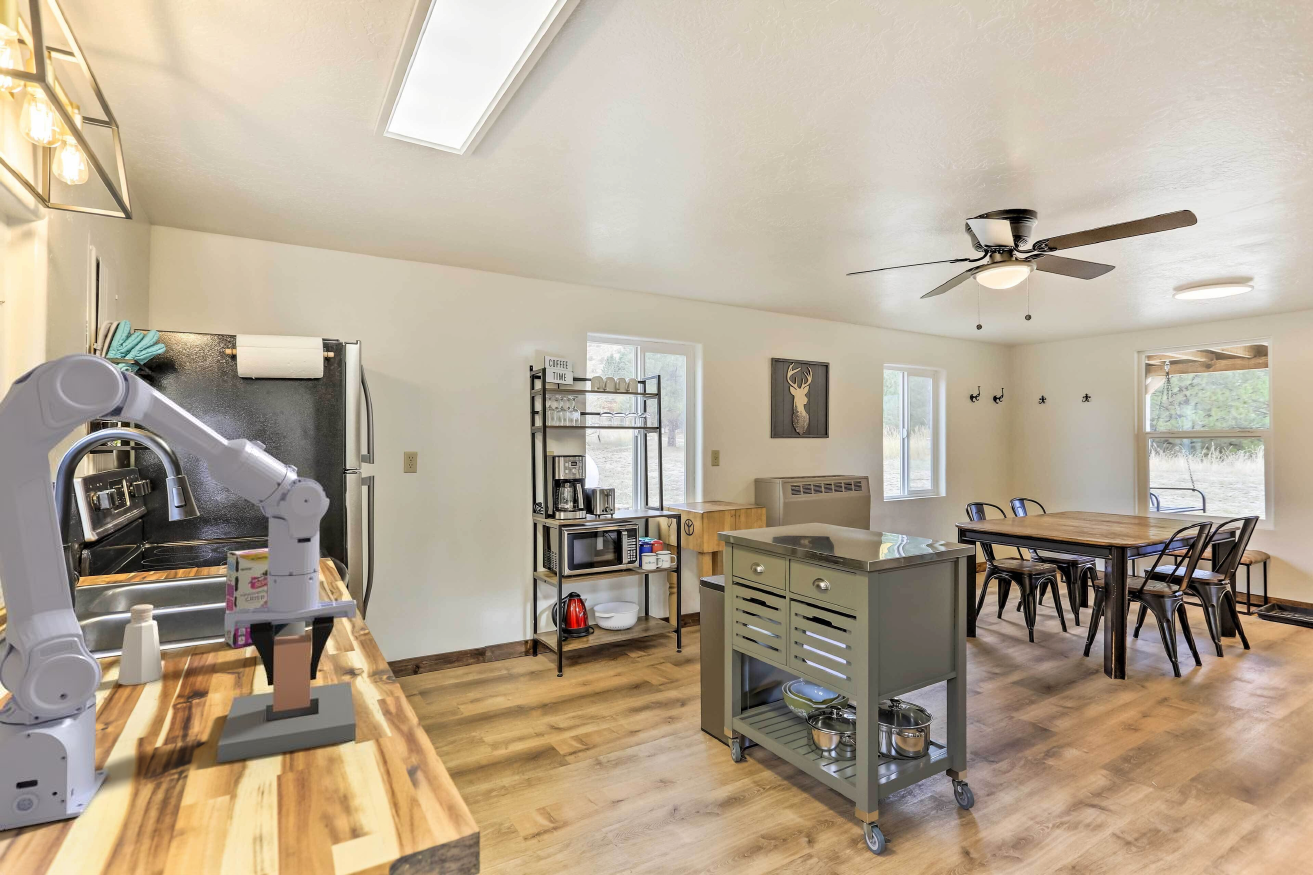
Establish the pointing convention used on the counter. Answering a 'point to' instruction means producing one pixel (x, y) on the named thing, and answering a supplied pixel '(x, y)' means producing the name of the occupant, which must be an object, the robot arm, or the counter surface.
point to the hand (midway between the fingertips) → (292, 680)
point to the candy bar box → (245, 588)
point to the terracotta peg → (291, 672)
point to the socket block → (287, 723)
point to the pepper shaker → (140, 648)
